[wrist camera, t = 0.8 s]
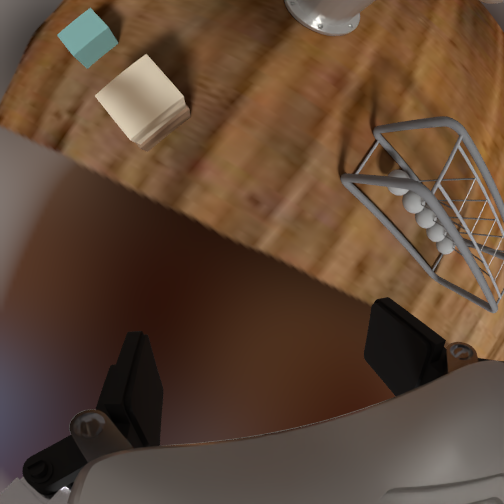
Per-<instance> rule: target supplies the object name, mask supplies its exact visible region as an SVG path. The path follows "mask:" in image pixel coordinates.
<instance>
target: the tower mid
mask: <svg viewBox="0 0 504 504" xmlns="http://www.w3.org/2000/svg"><path fill="white" fill-rule="evenodd" d="M95 97H96V98H97V99H98V101H99V102H100V103H101V104H102V106H103V107H104V108H105V109H106V111H107V112H108V113H109V114H110V116H111V117H112V118H113V119H114V121H115V122H116V123H117V124H118V126H119V127H120V128H121V129H122V131H123V132H124V133H125V134H126V135H127V137H128V138H129V139H130V140H131V141H133V142H136V143H138V144H140V145H141V144H142V143H143V142H144V141H145V140H146V139H148V138H149V137H150V136H151V135H152V134H153V133H155V132H156V131H157V130H158V129H159V128H161V127H162V126H163V125H164V124H166V123H167V122H168V121H169V120H171V119H172V118H173V117H174V116H176V115H177V114H178V113H180V112H181V111H182V110H184V109H185V108H186V105H185V100H184V96H183V95H182V94H181V93H180V91H179V90H178V89H177V88H176V87H175V86H174V84H173V83H172V82H171V81H170V80H169V79H168V78H167V76H166V75H165V74H164V73H163V72H162V71H161V70H160V69H159V67H158V66H157V65H156V64H155V63H154V62H153V61H152V60H151V59H150V57H149V56H148V55H147V54H146V55H144V56H143V57H141V58H140V59H139V60H137V61H136V62H135V63H133V64H132V65H131V66H130V67H128V68H127V69H126V70H124V71H123V72H122V73H121V74H120V75H118V76H117V77H116V78H115V79H113V80H112V81H111V82H110V83H109V84H108V85H106V86H105V87H104V88H103V89H102V90H101V91H100V92H99V93H97V94H96V95H95Z"/></svg>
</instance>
